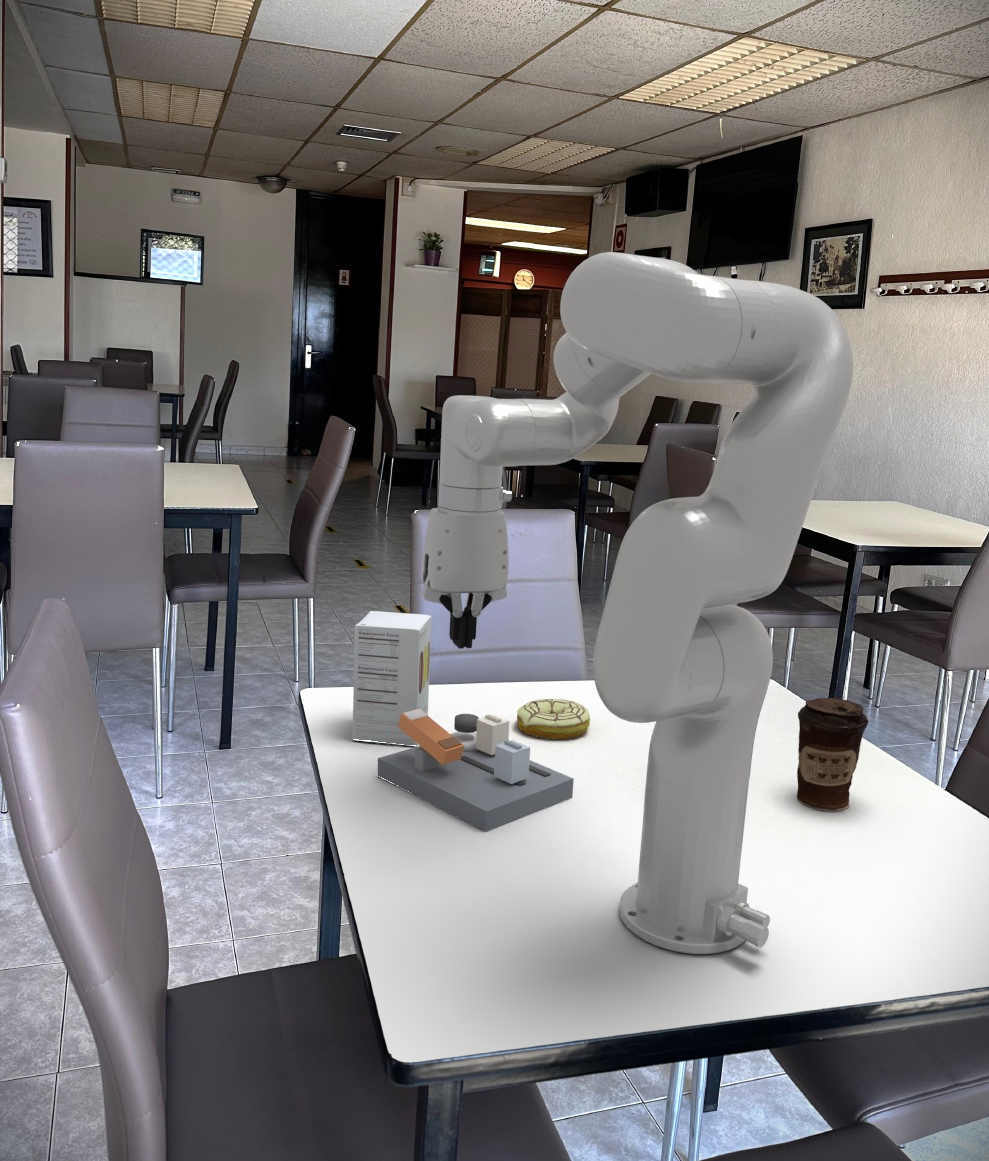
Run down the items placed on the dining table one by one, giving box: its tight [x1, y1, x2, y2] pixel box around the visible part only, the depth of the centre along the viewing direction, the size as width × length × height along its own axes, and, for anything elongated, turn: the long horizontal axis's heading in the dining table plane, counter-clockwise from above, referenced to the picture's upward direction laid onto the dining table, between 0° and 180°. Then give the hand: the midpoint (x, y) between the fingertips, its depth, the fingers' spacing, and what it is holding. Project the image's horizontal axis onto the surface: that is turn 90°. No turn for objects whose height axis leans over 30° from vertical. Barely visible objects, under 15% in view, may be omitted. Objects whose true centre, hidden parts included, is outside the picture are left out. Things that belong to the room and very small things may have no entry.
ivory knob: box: [475, 714, 510, 755], centre depth 133 cm, size 3×3×4 cm
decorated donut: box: [516, 698, 591, 740], centre depth 150 cm, size 10×11×4 cm
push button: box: [453, 713, 480, 733], centre depth 135 cm, size 3×3×2 cm
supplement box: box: [352, 610, 432, 746], centre depth 143 cm, size 10×9×17 cm
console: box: [377, 731, 575, 832], centre depth 128 cm, size 20×15×5 cm
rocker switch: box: [398, 709, 464, 765], centre depth 127 cm, size 9×3×2 cm, turn 45°
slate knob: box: [494, 739, 531, 784], centre depth 124 cm, size 3×3×4 cm
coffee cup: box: [796, 697, 870, 812], centre depth 127 cm, size 9×8×13 cm
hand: (462, 645), depth 127 cm, fingers closed
